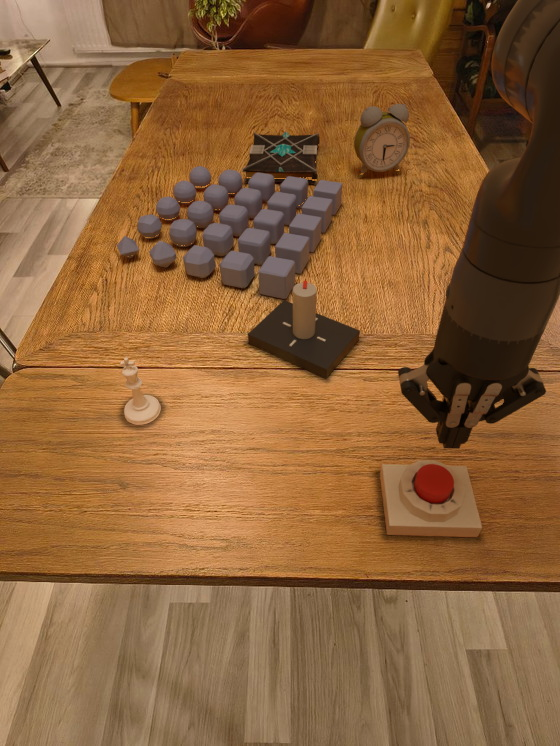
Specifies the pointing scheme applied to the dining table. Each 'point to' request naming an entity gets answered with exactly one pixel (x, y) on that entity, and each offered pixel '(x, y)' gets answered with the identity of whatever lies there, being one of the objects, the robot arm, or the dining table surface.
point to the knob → (304, 310)
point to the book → (283, 156)
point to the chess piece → (138, 397)
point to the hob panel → (304, 340)
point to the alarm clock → (382, 138)
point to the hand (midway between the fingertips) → (449, 441)
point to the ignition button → (433, 483)
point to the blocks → (243, 228)
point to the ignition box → (428, 504)
